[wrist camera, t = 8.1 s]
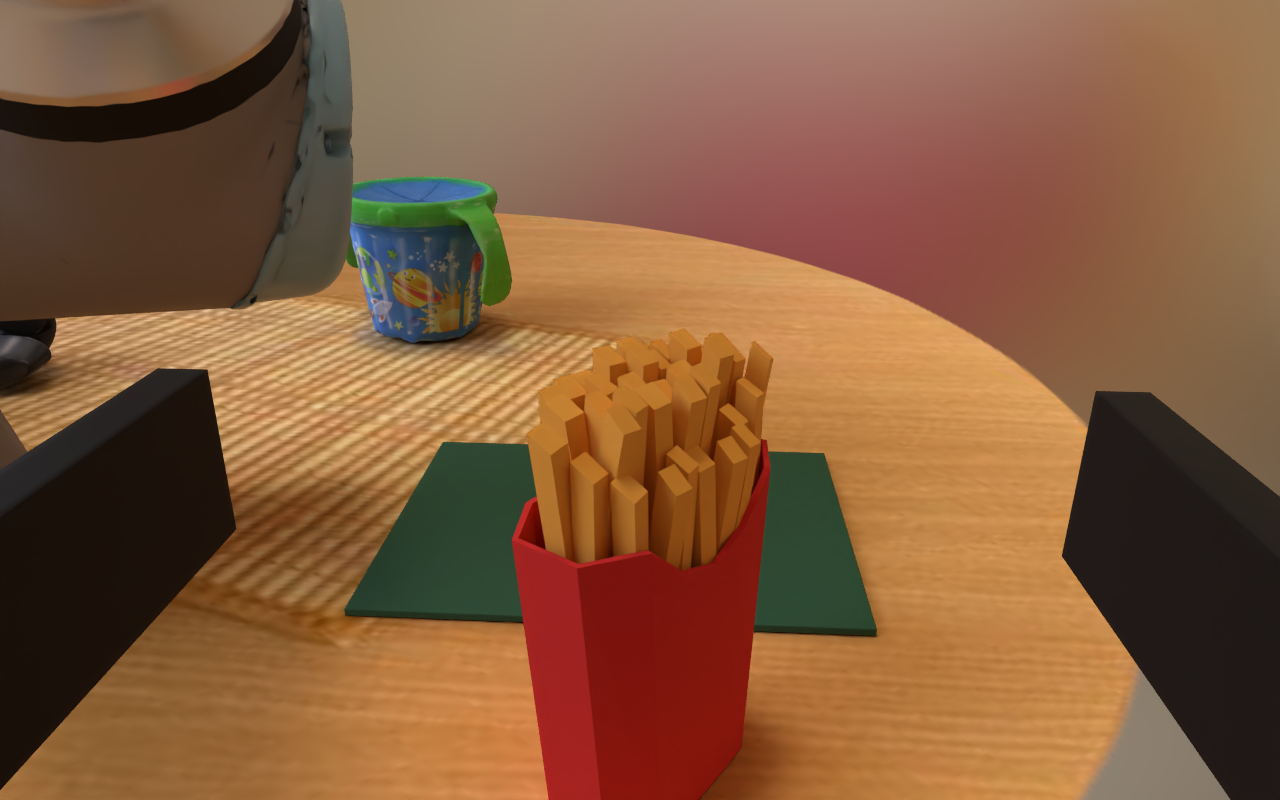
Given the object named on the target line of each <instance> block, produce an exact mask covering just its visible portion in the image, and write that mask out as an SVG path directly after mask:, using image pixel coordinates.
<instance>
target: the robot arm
mask: <svg viewBox="0 0 1280 800" xmlns="http://www.w3.org/2000/svg"><path fill="white" fill-rule="evenodd" d="M352 110H353V105H352V82H351V64H350V52H349V41H348V32H347V25H346V20H345V13H344V9H343V5H342V2H341V0H0V321H15V320H32V319H48V318H65V317H82V316H99V315H116V314H133V313H150V312H167V311H184V310H201V309H218V308H231V309H244V308H247V307H249V306H251V305H253V304H254V303H257V302H265V301H272V300H280V299H288V298H295V297H303V296H309V295H313V294H316V293H318V292H321V291H322V290H324V289H326V288H327V287H328V286H329V285H331V284H332V283H333V282H334V280H335V279H336V278H337V277H338V275H339V274H340V272H341V270H342V268H343V265H344V263H345V259H346V255H347V250H348V244H349V237H350V227H351V213H352V193H353V156H352V148H351V145H350V139H351V137H352V124H351V123H352ZM235 530H236V524H235V519H234V513H233V508H232V502H231V497H230V491H229V486H228V480H227V475H226V469H225V464H224V458H223V453H222V447H221V442H220V436H219V431H218V425H217V420H216V414H215V409H214V403H213V398H212V392H211V387H210V381H209V376H208V370H201V369H160V368H158V369H156V370H155V371H153V372H152V373H150V374H149V375H147V376H145V377H144V378H142V379H141V380H139V381H138V382H136V383H135V384H133V385H131V386H130V387H128V388H127V389H125V390H124V391H122V392H121V393H119V394H117V395H116V396H114V397H113V398H111V399H110V400H108V401H107V402H105V403H103V404H102V405H100V406H99V407H97V408H96V409H94V410H93V411H91V412H89V413H88V414H86V415H85V416H83V417H82V418H80V419H79V420H77V421H75V422H74V423H72V424H71V425H69V426H68V427H66V428H65V429H63V430H61V431H60V432H58V433H57V434H55V435H54V436H52V437H51V438H49V439H47V440H46V441H44V442H43V443H41V444H40V445H38V446H37V447H35V448H33V449H32V450H30V451H29V452H27V451H26V449H25V447H24V446H23V444H22V443H21V441H20V439H19V438H18V436H17V435H16V433H15V432H14V430H13V429H12V427H11V426H10V424H9V423H8V421H7V420H6V418H5V416H4V415H3V413H2V412H1V410H0V790H1V789H2V788H3V787H4V785H5V784H6V783H7V782H8V781H9V780H10V779H11V778H12V777H13V775H14V774H15V773H16V772H17V771H18V770H19V769H20V768H21V767H22V766H23V764H24V763H25V762H26V761H27V760H28V759H29V758H30V757H31V756H32V754H33V753H34V752H35V751H36V750H37V749H38V748H39V747H40V746H41V745H42V743H43V742H44V741H45V740H46V739H47V738H48V737H49V736H50V735H51V733H52V732H53V731H54V730H55V729H56V728H57V727H58V726H59V725H60V724H61V722H62V721H63V720H64V719H65V718H66V717H67V716H68V715H69V714H70V712H71V711H72V710H73V709H74V708H75V707H76V706H77V705H78V704H79V703H80V701H81V700H82V699H83V698H84V697H85V696H86V695H87V694H88V693H89V691H90V690H91V689H92V688H93V687H94V686H95V685H96V684H97V683H98V682H99V680H100V679H101V678H102V677H103V676H104V675H105V674H106V673H107V672H108V670H109V669H110V668H111V667H112V666H113V665H114V664H115V663H116V662H117V661H118V659H119V658H120V657H121V656H122V655H123V654H124V653H125V652H126V651H127V649H128V648H129V647H130V646H131V645H132V644H133V643H134V642H135V641H136V640H137V638H138V637H139V636H140V635H141V634H142V633H143V632H144V631H145V630H146V629H147V627H148V626H149V625H150V624H151V623H152V622H153V621H154V620H155V619H156V617H157V616H158V615H159V614H160V613H161V612H162V611H163V610H164V609H165V608H166V606H167V605H168V604H169V603H170V602H171V601H172V600H173V599H174V598H175V596H176V595H177V594H178V593H179V592H180V591H181V590H182V589H183V588H184V587H185V585H186V584H187V583H188V582H189V581H190V580H191V579H192V578H193V577H194V575H195V574H196V573H197V572H198V571H199V570H200V569H201V568H202V567H203V566H204V564H205V563H206V562H207V561H208V560H209V559H210V558H211V557H212V556H213V554H214V553H215V552H216V551H217V550H218V549H219V548H220V547H221V546H222V545H223V543H224V542H225V541H226V540H227V539H228V538H229V537H230V536H231V535H232V533H233V532H234V531H235ZM1062 557H1063V558H1064V560H1065V561H1066V563H1067V564H1068V566H1069V567H1070V569H1071V570H1072V571H1073V573H1074V574H1075V576H1076V577H1077V579H1078V580H1079V581H1080V583H1081V584H1082V586H1083V587H1084V589H1085V590H1086V592H1087V593H1088V594H1089V596H1090V597H1091V599H1092V600H1093V602H1094V603H1095V605H1096V606H1097V607H1098V609H1099V610H1100V612H1101V613H1102V615H1103V616H1104V618H1105V619H1106V620H1107V622H1108V623H1109V625H1110V626H1111V628H1112V629H1113V631H1114V632H1115V633H1116V635H1117V636H1118V638H1119V639H1120V641H1121V642H1122V644H1123V645H1124V646H1125V648H1126V649H1127V651H1128V652H1129V654H1130V655H1131V657H1132V658H1133V659H1134V661H1135V662H1136V664H1137V665H1138V667H1139V668H1140V670H1141V671H1142V672H1143V674H1144V675H1145V677H1146V678H1147V680H1148V681H1149V682H1150V684H1151V685H1152V687H1153V688H1154V689H1155V691H1156V693H1157V694H1158V696H1159V697H1160V698H1161V700H1162V701H1163V703H1164V704H1165V705H1166V707H1167V708H1168V710H1169V711H1170V713H1171V714H1172V716H1173V717H1174V719H1175V720H1176V721H1177V723H1178V724H1179V726H1180V727H1181V729H1182V730H1183V732H1184V733H1185V734H1186V736H1187V737H1188V739H1189V740H1190V742H1191V743H1192V744H1193V746H1194V747H1195V749H1196V750H1197V752H1198V753H1199V755H1200V756H1201V758H1202V759H1203V760H1204V762H1205V763H1206V765H1207V766H1208V768H1209V769H1210V771H1211V772H1212V773H1213V775H1214V776H1215V778H1216V779H1217V781H1218V782H1219V783H1220V785H1221V786H1222V788H1223V789H1224V791H1225V792H1226V794H1227V795H1228V797H1229V798H1230V799H1231V800H1280V497H1279V496H1278V495H1277V494H1275V493H1274V492H1273V491H1272V490H1270V489H1269V488H1268V487H1267V486H1266V485H1264V484H1263V483H1262V482H1261V481H1259V480H1258V479H1257V478H1256V477H1254V476H1253V475H1252V474H1251V473H1249V472H1248V471H1247V470H1246V469H1244V468H1243V467H1242V466H1241V465H1239V464H1238V463H1237V462H1236V461H1235V460H1233V459H1232V458H1231V457H1230V456H1228V455H1227V454H1226V453H1224V452H1223V451H1222V450H1221V449H1220V448H1218V447H1217V446H1216V445H1215V444H1213V443H1212V442H1211V441H1210V440H1208V439H1207V438H1206V437H1205V436H1204V435H1202V434H1201V433H1200V432H1198V431H1197V430H1196V429H1195V428H1194V427H1192V426H1191V425H1190V424H1189V423H1187V422H1186V421H1185V420H1184V419H1182V418H1181V417H1180V416H1178V415H1177V414H1176V413H1175V412H1174V411H1172V410H1171V409H1170V408H1169V407H1168V406H1166V405H1165V404H1164V403H1163V402H1161V401H1160V400H1159V399H1158V398H1156V397H1155V396H1154V395H1153V394H1151V393H1149V392H1148V393H1147V392H1110V391H1108V392H1107V391H1096V392H1095V397H1094V402H1093V407H1092V412H1091V417H1090V422H1089V427H1088V431H1087V436H1086V441H1085V446H1084V451H1083V456H1082V461H1081V465H1080V470H1079V475H1078V480H1077V485H1076V490H1075V495H1074V500H1073V504H1072V509H1071V514H1070V519H1069V524H1068V529H1067V534H1066V538H1065V543H1064V548H1063V553H1062Z"/></svg>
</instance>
